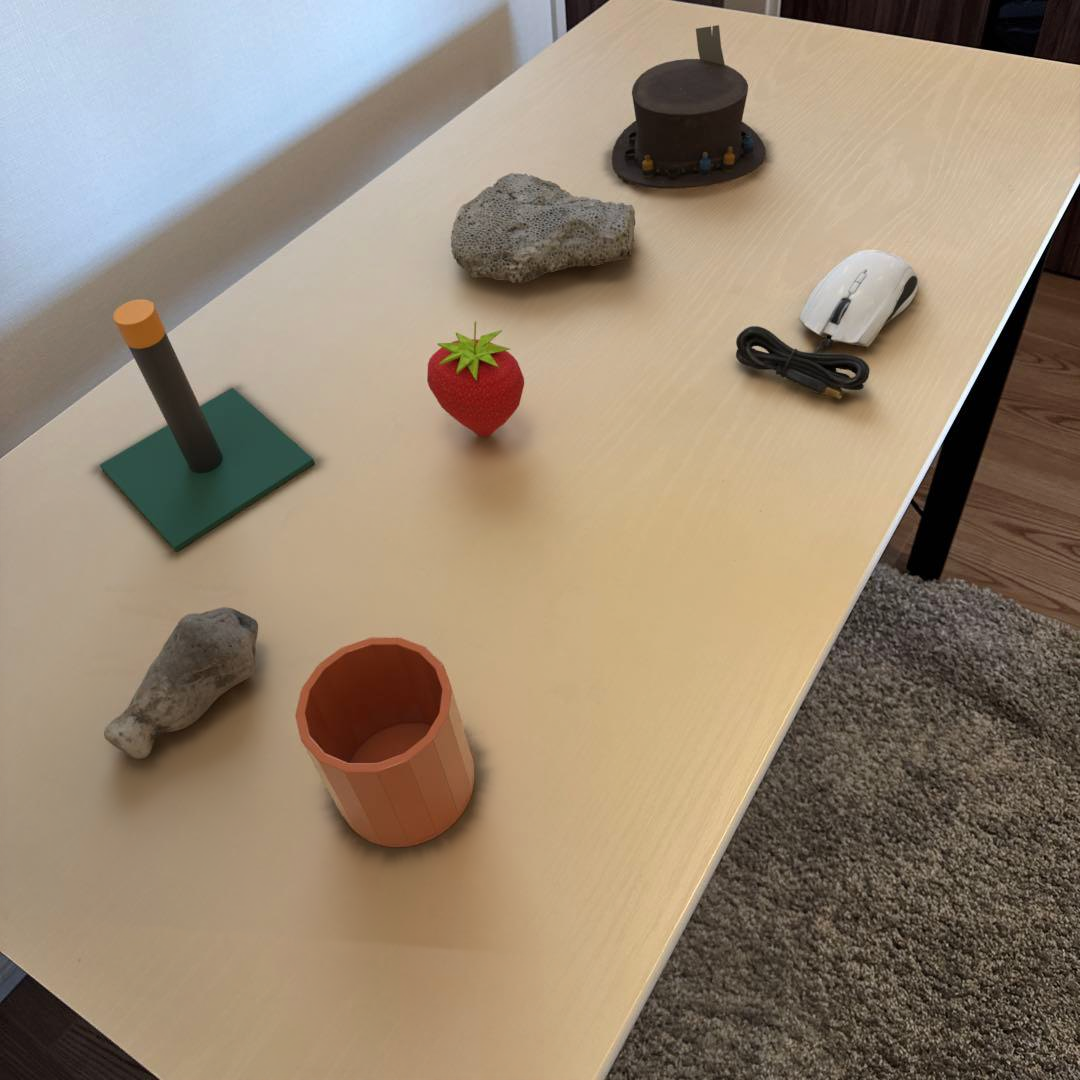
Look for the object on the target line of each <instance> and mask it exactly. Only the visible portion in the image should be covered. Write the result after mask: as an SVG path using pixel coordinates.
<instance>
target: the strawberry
mask: <svg viewBox="0 0 1080 1080" xmlns="http://www.w3.org/2000/svg"><path fill="white" fill-rule="evenodd" d="M473 325H474V326H473V327H474V328H473V329H474V330H473V331H474V332H473V333H474V334H473V339H472V338H469V337H467V336H465V335H463V334H461V333H460V332H459V333H458V332H455V337H456V338H457V340H454V341H451V342H439V343H437V346H439V347H440V348H439V349H438V350H436V351H435V352H434V353H433V354H432V355H431V357H430V358H429V359H428V363H427V375H426V381H427V384H428V387H429V389H430V391H431V393H432V394H433V396H434V398H435V399H436V401H437V402H438V404H439V405H440V407H441V408H442V409H443V410H444V411H445V412H446V413H447V414H449V415H450V416H451V417H452V418H453V419H455V421H457V422H458V423H459V424H461V425H462V426H464V427H466V428H467V429H469V430H470V431H472V432H473V433H474V434H476V435H477V436H479V437H489V436H491V435H492V434H494V433H495V432H496V431H497V430H498V429H499V428H501V427H502V426H503V425H505V424H506V423H507V421H508V420H509V419H510V418H511V417H512V416H513V414H514V413H515V411H517V409H518V408H519V406H520V403H521V400H522V395H523V393H524V392H523V391H524V388H525V377H524V375H523V372H522V369H521V367H520V364H519V361H518V360H517V359H516V358H515V356H514V355H513V354H511V353H510V352H509V350H511V348H510V347H506V346H505V347H504V346H502V345H498V344H495V343H493V342H492V341H493V340H494V339H495V338H496V337H497V336H498V335H499V334H500V333H502V331H503V330H502V329H501V330H500V329H499V330H496V331H493V332H490V333H486V334H483V335H480V337H479V339H477V321H476V320H475V321H474V324H473Z"/></svg>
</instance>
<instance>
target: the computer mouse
mask: <svg viewBox="0 0 1080 1080" xmlns="http://www.w3.org/2000/svg"><path fill="white" fill-rule="evenodd" d="M918 287H919V279H918V276H917V273H916V272H915V270H914V268H913V266H912V265H911V264H910V263H909V262H907V261H906V260H904V259H903V258H901V256H898V255H896V254H894V253H891V252H888V251H884V250H879V249H863V250H860V251H859V250H858V251H856V252H855V253H853V254H851V255H849V256H847V257H846V258H844V259H843V260H842V261H840V262H839V263H838V264H837V265H836V266H835V267H833V268H832V269H831V270H830V271H829V272H828V273H827V274H826V275H825V276H824V277H822V279H821V280H820V281H819V282H818V283H817V284H816V286H815V288H813V291H812V292H811V294H810V295H809V297H808V299H807V301H806V303H805V305H804V306H803V308H802V311H801V313H800V314H799V316H798V319H797V320H798V321H800V322H801V323H802V324H803V325H804V327H806V328H807V329H808V330H810V331H811V332H813V333H815V334H816V335H818V336H819V337H821V338H825V339H822V340H820V342H819V345H818V346H817V347H816V348H815V350H814V351H813V352H806V351H801V350H798V349H797V348H793V347H791V346H790V345H789V344H787V343H785V342H784V341H783V340H781V339H780V338H779V337H778V336H777V335H776V334H774V333H773V332H771V331H770V330H769V329H766V328H765V327H762V326H758V325H750V326H748V327H746V328H744V329H743V330H742V331H741V332H740V333H739V334H738V335H737V337H736V340H735V345H736V347H737V349H736V352H735V358H736V359H737V361H738V362H739V363H740V364H742V365H744V366H747V367H750V368H752V369H755V370H761V371H762V370H767V371H768V370H769V371H770V370H771V371H775V375H777V376H780V377H781V378H785V379H786V380H788V381H790V382H792V383H795V384H797V385H799V386H800V387H801V386H802V387H804V388H805V389H808V390H810V391H812V392H815V393H817V394H820V395H823V394H827V395H830V396H832V397H834V398H836V399H838V400H840V399H842V397H843V395H844V391H843V389H844V390H850V391H861V390H863V389H864V386H865V385H864V384H865V383H866V382H867V381H868V379H869V376H870V366H869V364H868V363H867V361H865V360H864V359H862V358H861V357H860V356H857V355H853V354H848V353H832V352H820V351H821V350H822V349H823V350H824V349H826V348H828V347H830V345H832V344H833V342H836V343H843V344H848V345H854V346H860V347H866V348H868V347H869V346H871V344H872V343H873V342H874V340H875V339H876V338H877V336H878V334H879V333H880V331H881V330H882V328H884V326H886V325H887V324H888V323H889V322H890V321H891V320H893V319H894V318H896V317H897V316H898V315H899V314H901V313H902V312H903V311H905V309H906V308H907V307H909V305H910V304H911V302H912V301H913V299H914V297H915V295H916V293H917V291H918V289H919V288H918ZM753 347H760V348H762V349H763V350H765V351H762V350H758V349H756V348H753ZM837 370H844V371H850V372H851V373H852V374H854V376H852V377H851V376H850V375H848V374H846V373H844V372H841V371H837Z"/></svg>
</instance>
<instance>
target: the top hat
mask: <svg viewBox="0 0 1080 1080" xmlns="http://www.w3.org/2000/svg"><path fill="white" fill-rule="evenodd" d="M695 35H696V36H695V37H696V45H697V51H698V57H699V58H683V59H674V60H670V61H665V62H663V63H660V64H657V65H654V66H652V67H651V68H649V69H647V70H646V71H644V72H643V73H642V74H640V76H638V78H636V80H635V81H634V83H633V84H632V85H633V86H632V87H631V88H632V89H631V98H632V103H633V110H634V116H635V121H633V122H632V123H631V124H629V125H628V126H626V128H625V129H624V130H623V131H622V132H621V133H620V135H619V136H618V137H617V139H616V141H615V143H614V145H613V147H612V152H611V164H612V169H613V171H614V172H615V174H616V176H618V177H619V178H621V179H622V180H623V181H625V182H628V183H630V184H633V185H635V186H640V187H645V188H651V189H660V190H679V189H693V188H694V189H695V188H703V187H709V186H714V185H719V184H724V183H727V182H731V181H735V180H738V179H740V178H743V177H745V176H748V175H749V174H752V173H753V172H755V171H756V170H758V169H759V168H760V167H761V166H762V165H763V164H764V162H765V160H766V156H767V155H766V154H767V150H766V146H765V143H764V142H763V140H762V139H761V137H760V136H759V134H758V133H757V132H756V131H755V130H754V129H753V128H752V127H750V126H749V125H748V124H746V123H745V122H744V121H743V118H744V112H745V107H746V103H747V97H748V93H749V84H748V81H747V79H746V78H745V77H744V76H743V74H742V73H740V72H739V71H737V70H736V69H734V68H733V67H730V66H729V65H727V64H726V63H725V59H724V53H723V49H722V43H721V40H722V39H721V31H720V25H719V24H717V25H712V26H711V25H710V26H704V27H698V28H697V27H696V28H695Z"/></svg>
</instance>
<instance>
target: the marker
mask: <svg viewBox="0 0 1080 1080" xmlns="http://www.w3.org/2000/svg"><path fill="white" fill-rule="evenodd" d="M112 317H113V318H112V319H113V321H114V323H115V325H116V327H117V329H118V331H119V333H120V335H121V337H122V339H123V340H124V343H125V344H126V346H127V347H128V349H129V351H130V352H131V354H132V357H133V359H134V361H135V363H136V365H137V367H138V369H139V371H140V372H141V375H142V377H143V378H144V380H145V383H146V385H147V386H148V388H149V390H150V393H151V394H152V397H153V399H154V401H155V402H156V405H157V406H158V409H159V410H160V412H161V414H162V416H163V418H164V420H165V422H166V424H167V425H168V426H169V428H170V430H171V432H172V434H173V436H174V438H175V440H176V442H177V444H178V446H179V448H180V450H181V452H182V454H183V456H184V458H185V460H186V462H187V464H188V466H189V468H190V469H191V470H192V471H193V472H196V473H206V472H210V471H212V470H214V469H215V468H217V467H218V466H219V465H220V464H221V462H222V459H223V456H222V453H221V451H220V449H219V446H218V444H217V442H216V440H215V438H214V436H213V433H212V431H211V429H210V427H209V425H208V423H207V421H206V418H205V416H204V414H203V412H202V410H201V408H200V406H201V405H200V403H199V401H198V399H197V397H196V395H195V393H194V390H193V388H192V386H191V384H190V382H189V380H188V377H187V375H186V373H185V371H184V369H183V366H182V364H181V362H180V360H179V358H178V356H177V354H176V352H175V349H174V347H173V344H172V342H171V341H170V339H169V336H168V334H167V332H166V328H165V325H164V324H163V321H162V319H161V317H160V315H159V313H158V311H157V309H156V307H155V304H154V303H153V302H152V301H151V300H149V299H142V298H141V299H133V300H130V301H127V302H125V303H123V304H121V305H119V307H117V308H116V310H115V311H114V313H113V316H112Z"/></svg>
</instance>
